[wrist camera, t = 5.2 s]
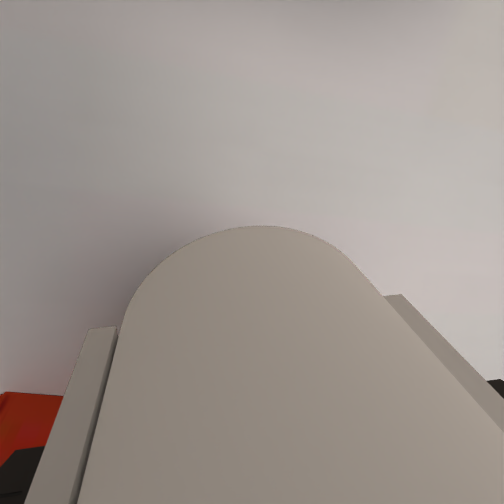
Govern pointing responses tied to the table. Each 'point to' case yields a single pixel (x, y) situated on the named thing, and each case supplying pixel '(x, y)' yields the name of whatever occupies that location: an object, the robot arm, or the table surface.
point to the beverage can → (281, 389)
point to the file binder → (25, 421)
